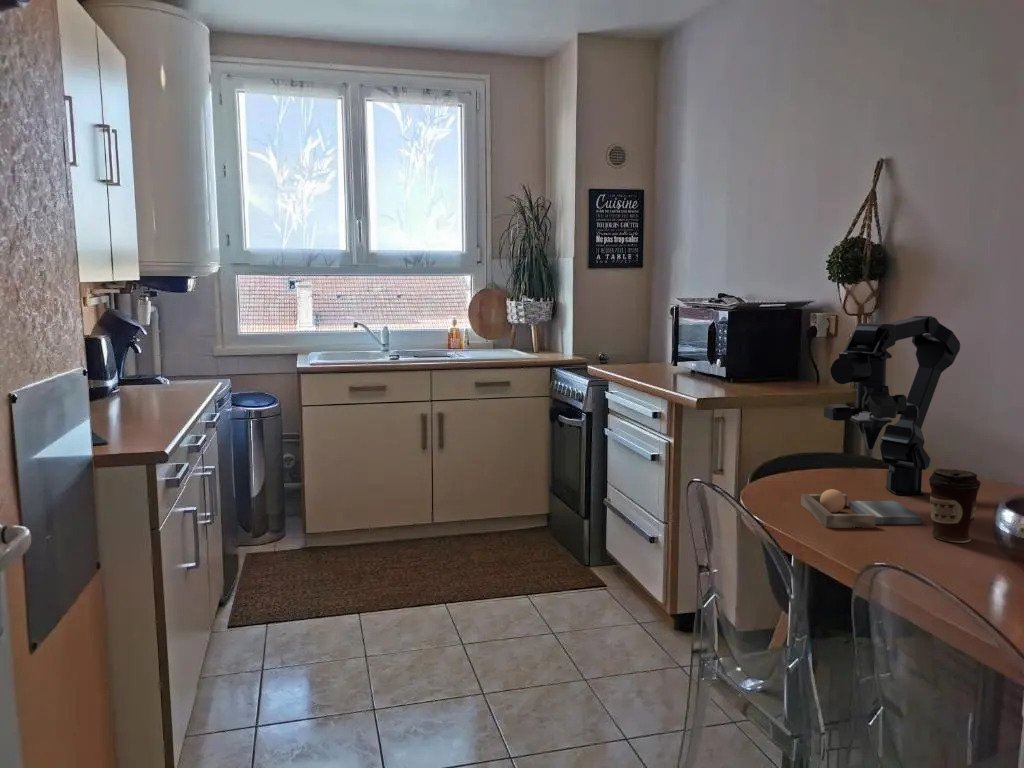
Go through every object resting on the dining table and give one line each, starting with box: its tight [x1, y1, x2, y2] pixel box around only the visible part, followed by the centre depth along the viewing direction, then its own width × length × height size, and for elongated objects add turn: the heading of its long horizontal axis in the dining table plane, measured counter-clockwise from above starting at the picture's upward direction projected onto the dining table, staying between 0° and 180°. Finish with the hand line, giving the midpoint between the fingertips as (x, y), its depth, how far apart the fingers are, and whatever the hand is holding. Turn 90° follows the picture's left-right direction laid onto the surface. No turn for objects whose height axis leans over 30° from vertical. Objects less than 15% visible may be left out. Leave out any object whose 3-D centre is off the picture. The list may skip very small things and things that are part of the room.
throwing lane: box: [800, 493, 922, 529], centre depth 163 cm, size 20×16×2 cm
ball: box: [820, 488, 845, 514], centre depth 166 cm, size 5×5×5 cm
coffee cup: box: [928, 468, 982, 544], centre depth 147 cm, size 9×8×13 cm
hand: (869, 449), depth 173 cm, fingers closed
